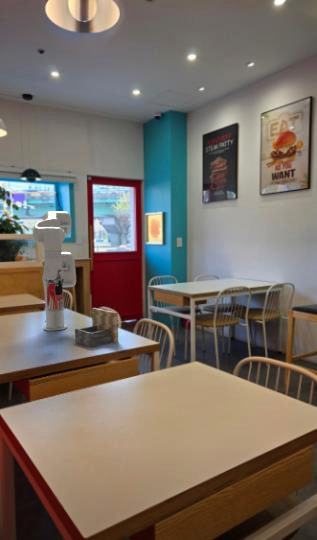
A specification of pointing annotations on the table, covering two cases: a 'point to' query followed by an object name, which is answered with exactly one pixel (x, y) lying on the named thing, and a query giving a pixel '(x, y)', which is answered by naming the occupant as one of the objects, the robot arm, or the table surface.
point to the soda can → (54, 298)
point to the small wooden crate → (99, 329)
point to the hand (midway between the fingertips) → (54, 293)
